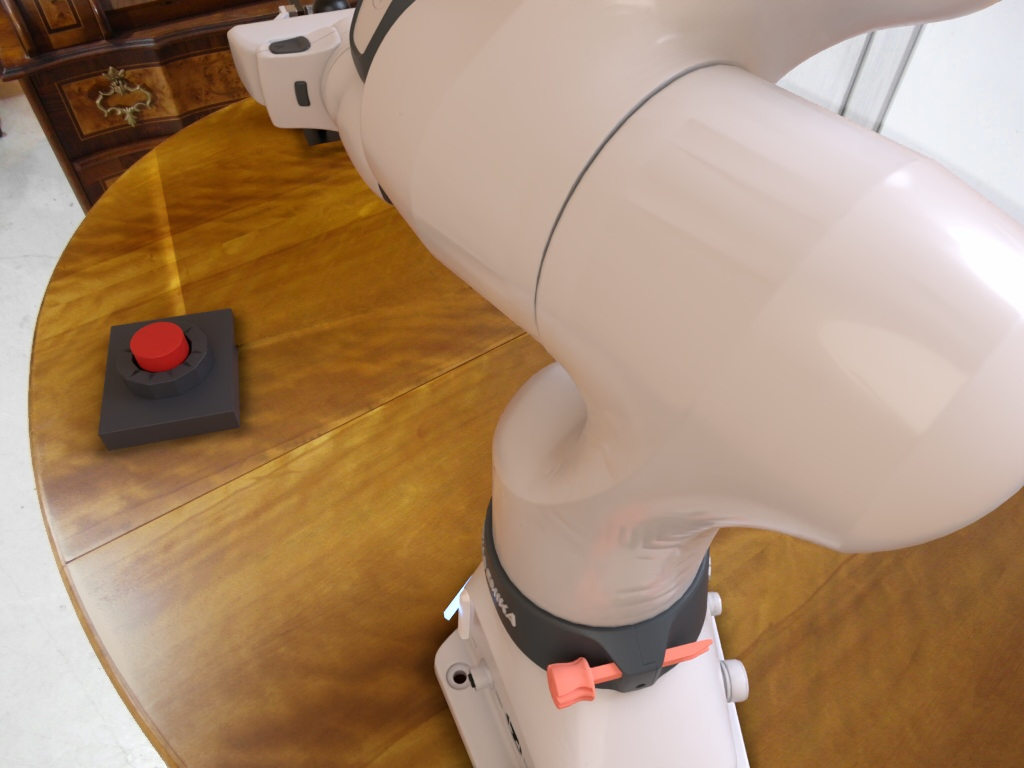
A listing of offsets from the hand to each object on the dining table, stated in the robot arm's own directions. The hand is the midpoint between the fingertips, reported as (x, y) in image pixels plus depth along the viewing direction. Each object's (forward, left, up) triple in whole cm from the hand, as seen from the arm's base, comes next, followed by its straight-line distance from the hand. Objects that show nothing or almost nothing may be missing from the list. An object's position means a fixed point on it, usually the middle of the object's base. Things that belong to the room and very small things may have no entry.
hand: (330, 6), depth 73 cm
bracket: (+9, +1, -18) cm, 19 cm away
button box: (-28, +18, -18) cm, 38 cm away
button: (-28, +18, -14) cm, 37 cm away
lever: (+3, 0, -4) cm, 5 cm away
